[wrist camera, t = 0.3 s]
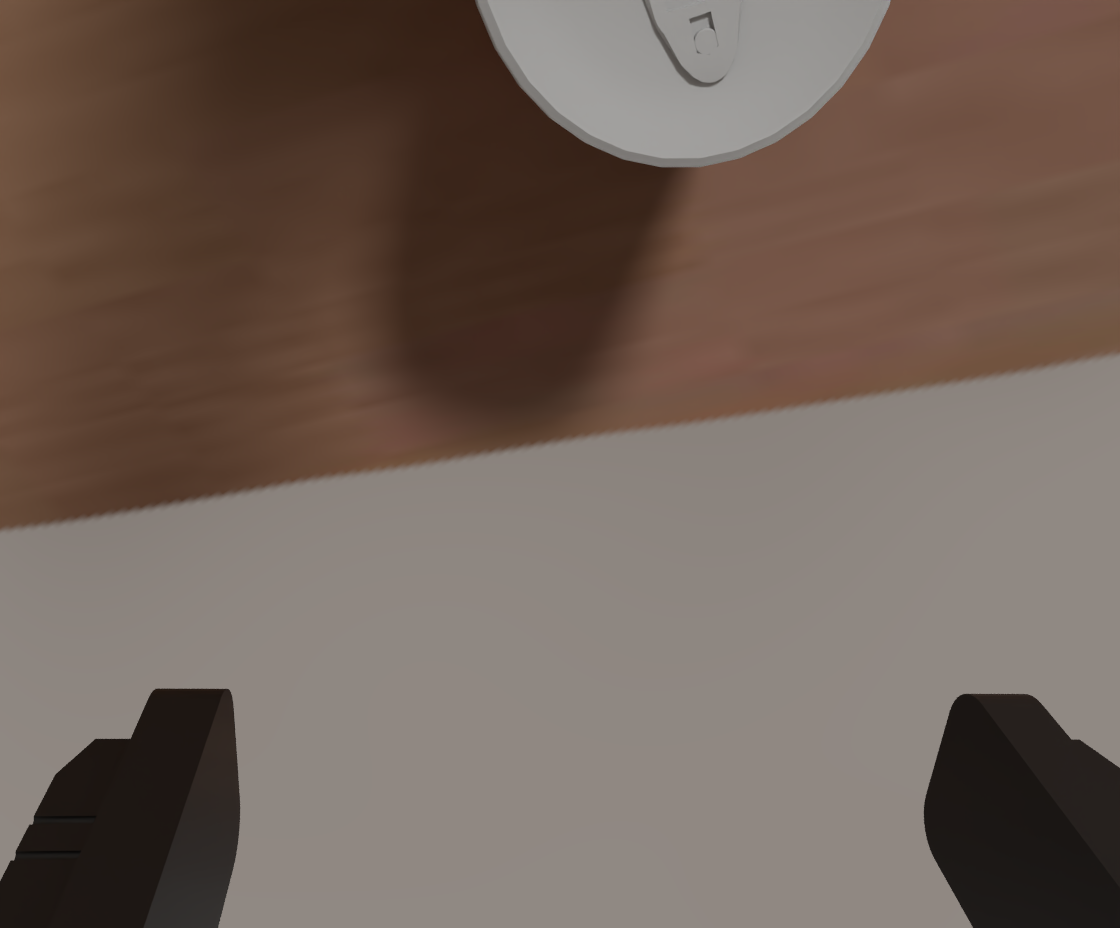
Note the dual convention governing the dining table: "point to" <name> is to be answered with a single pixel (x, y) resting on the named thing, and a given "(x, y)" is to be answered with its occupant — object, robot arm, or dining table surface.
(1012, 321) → the dining table surface
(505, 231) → the dining table surface
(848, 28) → the canned food
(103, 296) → the dining table surface
